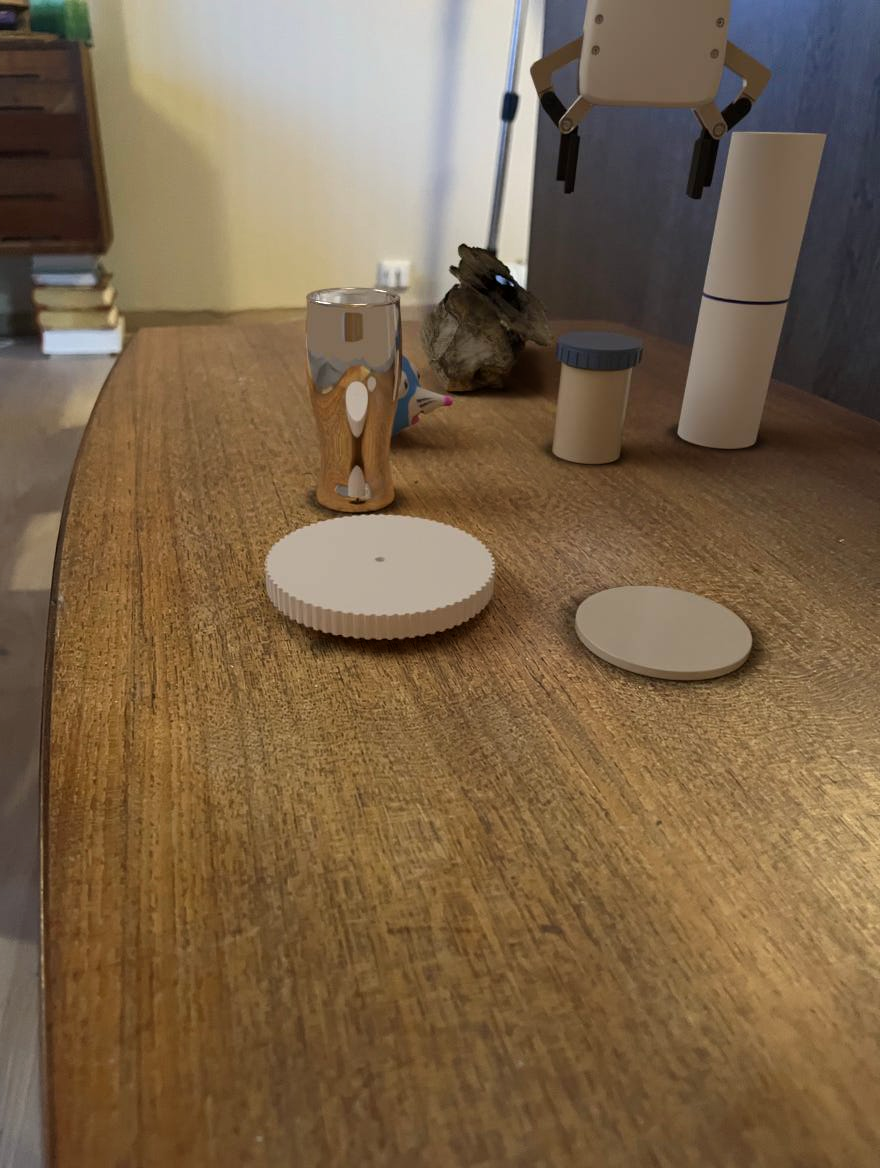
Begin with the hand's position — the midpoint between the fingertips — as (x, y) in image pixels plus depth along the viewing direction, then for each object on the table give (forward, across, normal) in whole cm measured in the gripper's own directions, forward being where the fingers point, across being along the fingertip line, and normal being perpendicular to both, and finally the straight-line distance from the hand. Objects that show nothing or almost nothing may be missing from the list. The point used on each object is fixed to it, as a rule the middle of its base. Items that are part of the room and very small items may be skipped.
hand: (630, 195), depth 69 cm
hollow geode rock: (+21, +10, -28) cm, 37 cm away
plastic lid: (+21, +15, +30) cm, 40 cm away
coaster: (+21, -2, +32) cm, 38 cm away
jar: (+21, +1, +1) cm, 21 cm away
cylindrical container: (+21, -12, -6) cm, 25 cm away
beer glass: (+21, +19, +15) cm, 32 cm away
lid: (+11, +1, +1) cm, 11 cm away
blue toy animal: (+21, +18, 0) cm, 28 cm away
